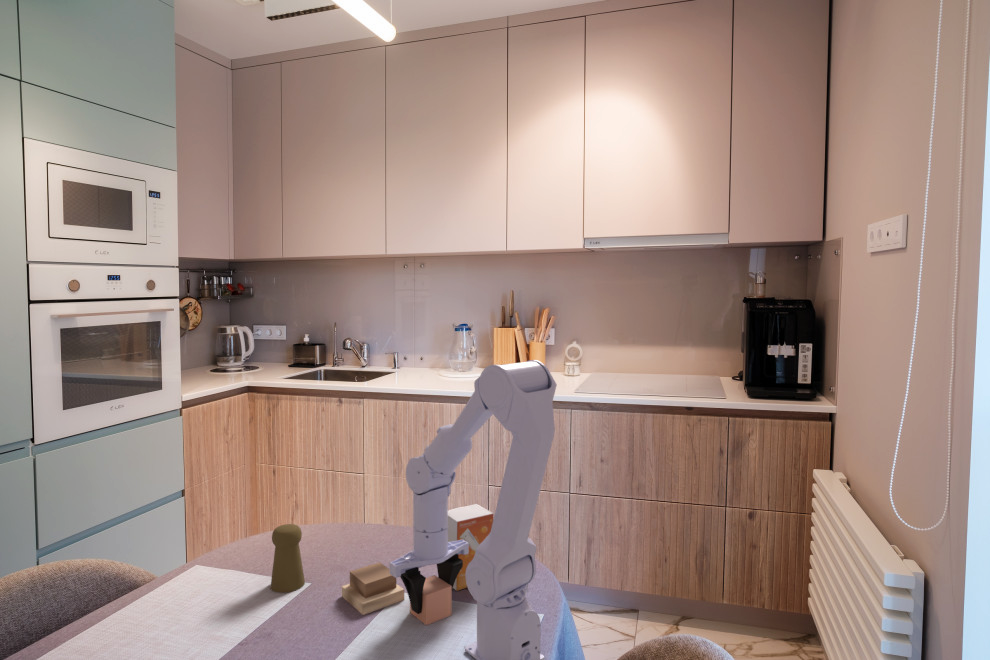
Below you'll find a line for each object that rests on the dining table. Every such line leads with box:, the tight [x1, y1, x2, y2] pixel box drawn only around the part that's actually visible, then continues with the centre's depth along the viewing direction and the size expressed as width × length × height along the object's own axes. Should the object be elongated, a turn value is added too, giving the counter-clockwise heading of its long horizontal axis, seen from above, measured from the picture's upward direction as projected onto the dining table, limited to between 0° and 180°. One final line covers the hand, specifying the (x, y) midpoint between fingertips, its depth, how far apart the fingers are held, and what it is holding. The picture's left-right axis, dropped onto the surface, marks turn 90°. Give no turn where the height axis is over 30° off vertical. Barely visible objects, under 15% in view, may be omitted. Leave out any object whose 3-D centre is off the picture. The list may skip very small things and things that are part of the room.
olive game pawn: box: [269, 523, 306, 594], centre depth 110 cm, size 6×6×11 cm
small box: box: [448, 503, 494, 592], centre depth 113 cm, size 8×6×13 cm
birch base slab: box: [341, 583, 405, 616], centre depth 106 cm, size 8×8×2 cm
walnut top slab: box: [349, 561, 397, 598], centre depth 106 cm, size 6×6×2 cm
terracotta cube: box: [409, 574, 453, 626], centre depth 101 cm, size 5×5×5 cm
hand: (430, 605), depth 101 cm, fingers closed on terracotta cube, 5 cm apart
